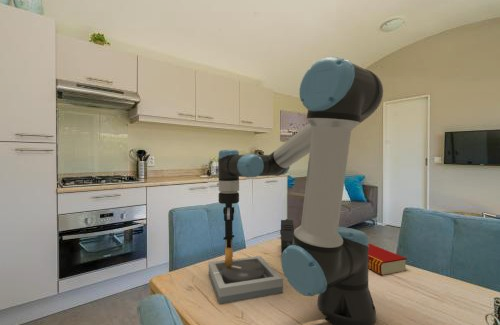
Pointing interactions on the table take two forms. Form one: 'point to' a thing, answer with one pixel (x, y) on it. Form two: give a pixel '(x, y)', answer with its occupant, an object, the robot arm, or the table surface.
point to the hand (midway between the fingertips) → (229, 256)
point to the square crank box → (245, 282)
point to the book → (385, 261)
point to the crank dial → (240, 269)
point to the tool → (286, 234)
